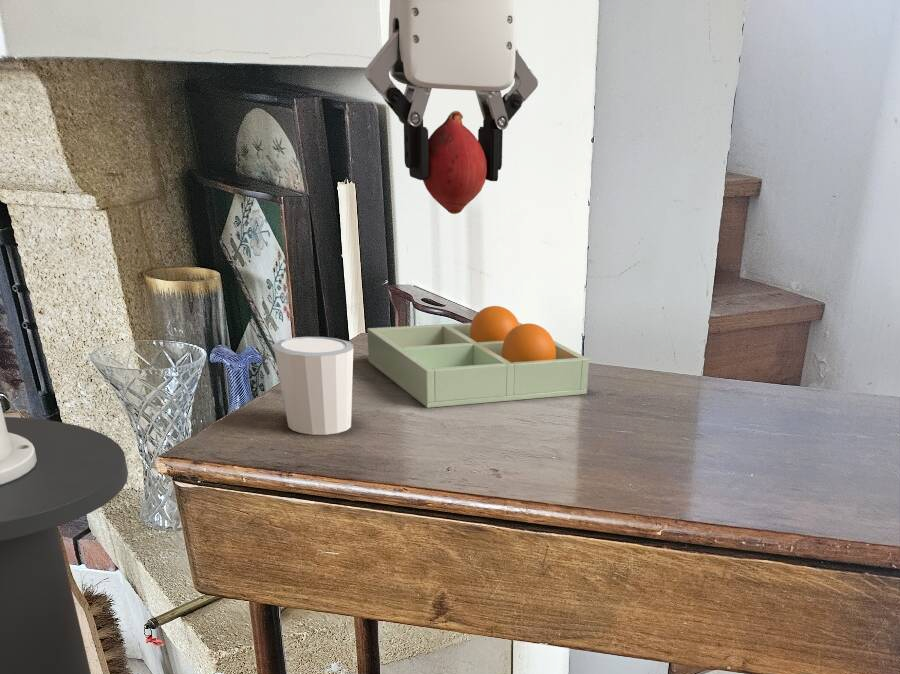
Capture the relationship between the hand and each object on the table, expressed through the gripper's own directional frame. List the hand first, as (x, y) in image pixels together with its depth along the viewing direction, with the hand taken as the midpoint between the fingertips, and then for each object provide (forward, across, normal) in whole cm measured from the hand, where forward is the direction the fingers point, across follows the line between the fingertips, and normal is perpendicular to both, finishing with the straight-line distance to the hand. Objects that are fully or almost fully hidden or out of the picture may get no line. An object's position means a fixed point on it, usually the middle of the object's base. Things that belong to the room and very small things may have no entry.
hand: (453, 176), depth 92 cm
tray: (+19, -5, -6) cm, 21 cm away
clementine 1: (+19, -9, -11) cm, 24 cm away
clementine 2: (+19, -9, -2) cm, 21 cm away
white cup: (+20, +15, +5) cm, 25 cm away
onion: (+3, 0, 0) cm, 3 cm away
